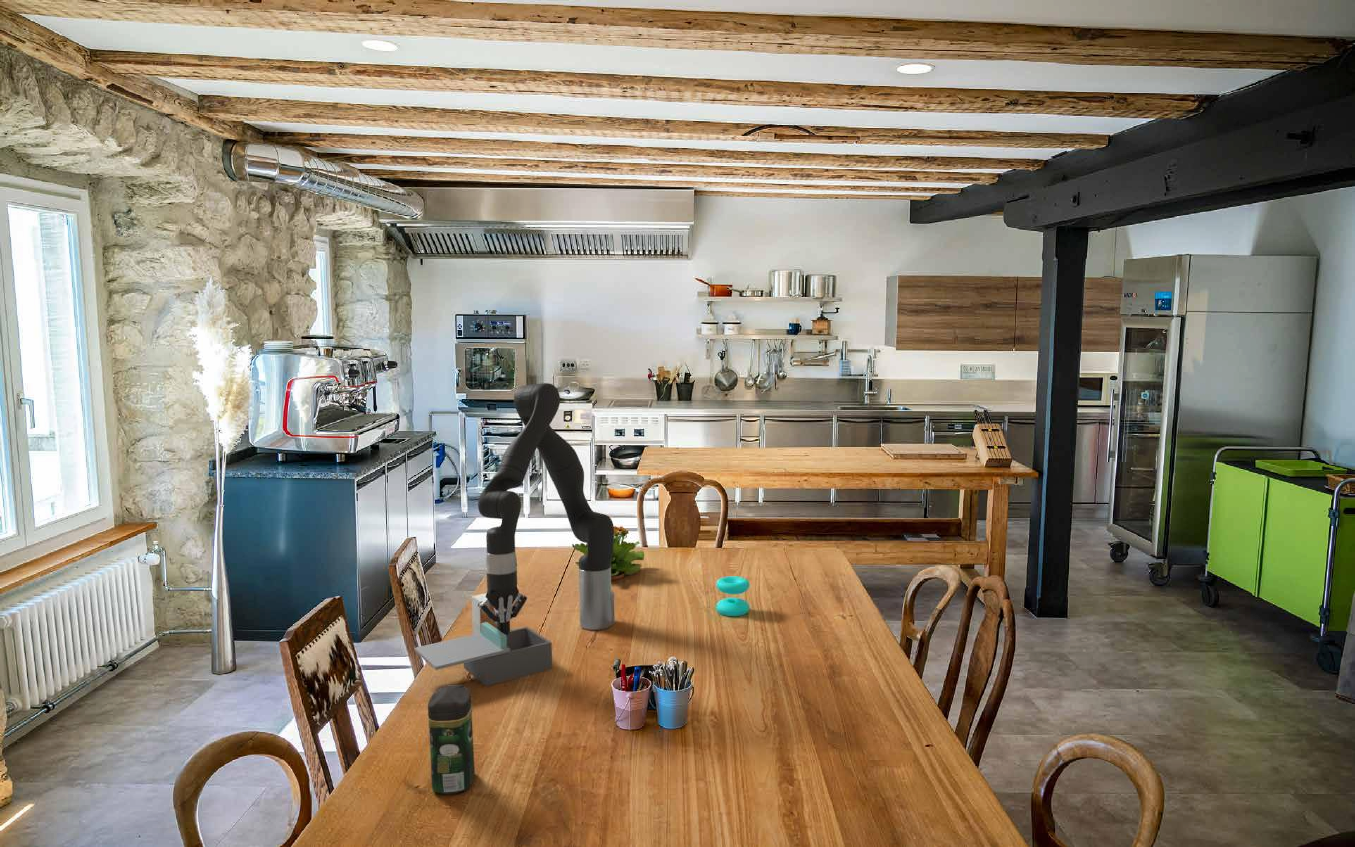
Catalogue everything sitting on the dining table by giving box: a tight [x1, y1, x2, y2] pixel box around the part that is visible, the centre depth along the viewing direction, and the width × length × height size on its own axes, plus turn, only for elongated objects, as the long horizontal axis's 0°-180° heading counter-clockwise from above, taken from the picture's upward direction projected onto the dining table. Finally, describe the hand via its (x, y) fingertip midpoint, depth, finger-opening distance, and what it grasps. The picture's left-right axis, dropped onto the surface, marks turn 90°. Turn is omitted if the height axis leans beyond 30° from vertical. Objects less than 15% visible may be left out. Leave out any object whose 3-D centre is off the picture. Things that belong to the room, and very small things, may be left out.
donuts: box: [715, 575, 750, 617], centre depth 265 cm, size 10×10×10 cm
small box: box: [471, 592, 497, 635], centre depth 242 cm, size 8×6×13 cm
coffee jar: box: [427, 684, 476, 795], centre depth 168 cm, size 10×8×19 cm
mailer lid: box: [414, 622, 510, 671], centre depth 216 cm, size 19×15×4 cm
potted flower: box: [571, 525, 645, 581], centre depth 300 cm, size 25×24×18 cm
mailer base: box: [463, 626, 553, 687], centre depth 224 cm, size 18×14×7 cm
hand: (503, 634), depth 223 cm, fingers closed
